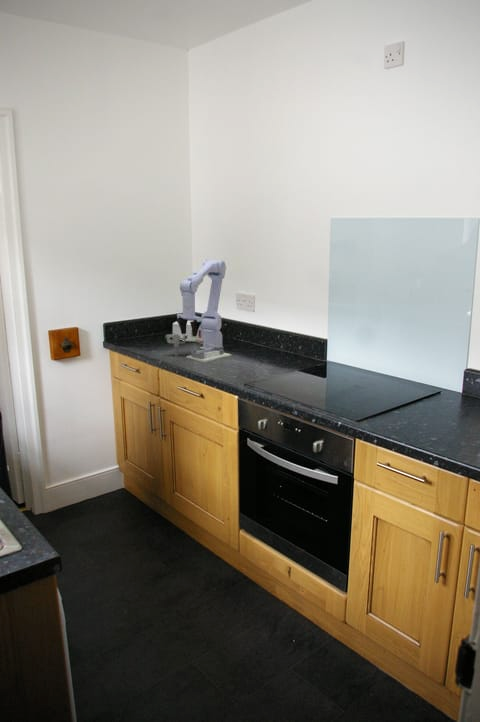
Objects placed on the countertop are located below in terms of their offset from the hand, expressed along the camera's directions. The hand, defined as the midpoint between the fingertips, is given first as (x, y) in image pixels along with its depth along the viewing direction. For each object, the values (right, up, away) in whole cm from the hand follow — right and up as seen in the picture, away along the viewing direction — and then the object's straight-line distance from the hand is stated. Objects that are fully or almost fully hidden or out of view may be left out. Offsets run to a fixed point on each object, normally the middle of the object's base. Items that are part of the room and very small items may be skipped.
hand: (189, 335), depth 275 cm
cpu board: (+9, -10, +1) cm, 14 cm away
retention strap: (+9, -5, -1) cm, 10 cm away
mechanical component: (-6, -10, +3) cm, 12 cm away
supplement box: (-3, 0, +45) cm, 45 cm away
